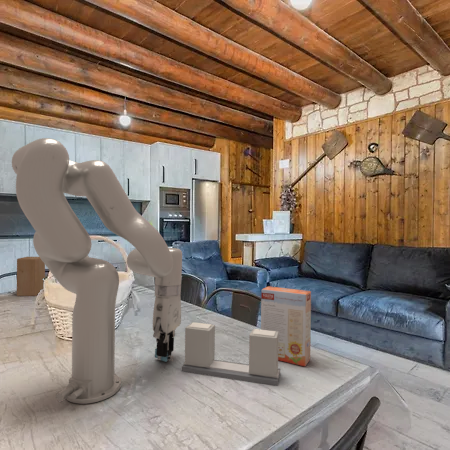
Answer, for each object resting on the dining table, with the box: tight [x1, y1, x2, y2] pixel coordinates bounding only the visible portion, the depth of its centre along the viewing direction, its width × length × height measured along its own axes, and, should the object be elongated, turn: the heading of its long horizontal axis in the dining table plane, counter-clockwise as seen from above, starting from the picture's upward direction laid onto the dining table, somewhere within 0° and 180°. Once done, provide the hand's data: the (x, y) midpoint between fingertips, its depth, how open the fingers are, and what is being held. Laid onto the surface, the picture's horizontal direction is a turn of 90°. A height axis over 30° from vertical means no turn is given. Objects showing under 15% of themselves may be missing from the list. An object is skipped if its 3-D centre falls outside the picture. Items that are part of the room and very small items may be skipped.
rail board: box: [181, 321, 281, 387], centre depth 86 cm, size 7×26×12 cm, turn 74°
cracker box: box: [260, 285, 312, 367], centre depth 95 cm, size 14×6×21 cm, turn 59°
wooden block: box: [16, 256, 46, 297], centre depth 171 cm, size 10×10×20 cm
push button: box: [154, 329, 174, 362], centre depth 91 cm, size 7×5×10 cm
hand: (165, 352), depth 92 cm, fingers closed on push button, 3 cm apart
